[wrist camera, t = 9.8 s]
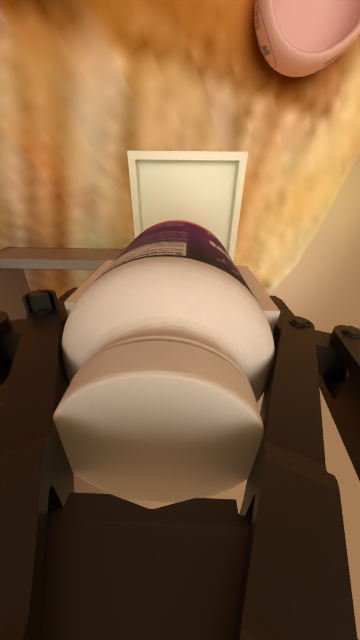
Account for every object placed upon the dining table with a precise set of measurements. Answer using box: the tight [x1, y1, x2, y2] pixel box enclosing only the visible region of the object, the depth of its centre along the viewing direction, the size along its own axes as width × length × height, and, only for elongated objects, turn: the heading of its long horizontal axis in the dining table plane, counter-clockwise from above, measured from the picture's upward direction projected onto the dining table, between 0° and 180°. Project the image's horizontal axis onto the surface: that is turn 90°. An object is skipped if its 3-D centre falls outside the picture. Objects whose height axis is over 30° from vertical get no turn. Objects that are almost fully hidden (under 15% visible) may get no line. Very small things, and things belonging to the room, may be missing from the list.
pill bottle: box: [53, 220, 275, 502], centre depth 12 cm, size 8×8×14 cm
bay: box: [0, 247, 125, 320], centre depth 33 cm, size 18×13×11 cm
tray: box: [127, 151, 248, 263], centre depth 31 cm, size 14×14×2 cm
